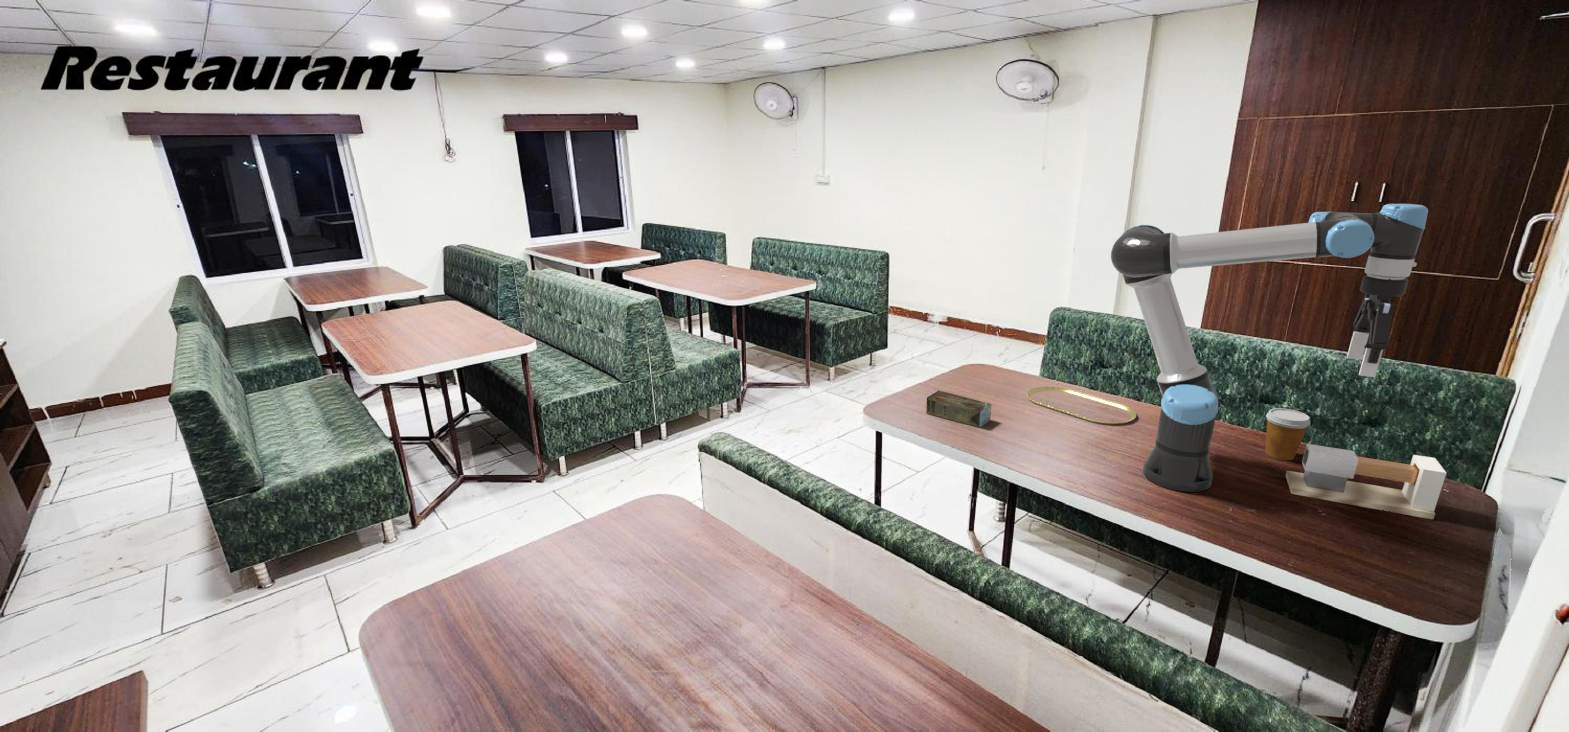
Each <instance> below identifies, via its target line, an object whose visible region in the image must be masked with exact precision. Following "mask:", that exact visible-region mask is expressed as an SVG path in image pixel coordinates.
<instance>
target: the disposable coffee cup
mask: <svg viewBox="0 0 1569 732" xmlns="http://www.w3.org/2000/svg"><path fill="white" fill-rule="evenodd" d="M1265 418H1266V422H1267V423H1266V435H1265V436H1266V437H1265V451H1264V452H1265V454H1266V455H1267V456H1268V457H1270V458H1273V459H1275V460H1280V461H1292V460H1294V459H1295V457H1296V455H1297V452H1298V451H1299V448H1300V445H1301V443H1302V440H1303V437H1304V435H1305V434H1306V431H1307V429H1308V427H1310V425H1311V420H1310V416H1309V415H1307V414H1306V413H1304V412H1302V411H1298V410H1295V409H1290V408H1282V407H1280V408H1277V407H1276V408H1271V409H1269V410H1268V412H1267V413H1266V415H1265Z"/></svg>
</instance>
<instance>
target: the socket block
mask: <svg viewBox="0 0 1569 732" xmlns="http://www.w3.org/2000/svg"><path fill="white" fill-rule="evenodd" d="M1409 465H1416V466H1417V467H1418V468H1419V470H1420V471H1419V475H1418V478H1417V481H1416V484H1413V483H1407V482H1404V484H1403V487H1402V489H1401V490H1402V493H1403V494H1404V496H1405V497H1406V499H1407V501H1408V502H1409V504H1410V506H1411V507H1412V508H1416V509H1422V510H1427V511H1433V512H1434V513H1435V509H1436V507H1437V503H1438V500H1439V498H1440V494H1441V491H1442V489H1443V486H1444V482H1445V479H1446V477H1447V472H1446V470H1445V469H1444V468H1443V466H1442V465H1441V464H1440V462H1439V461H1438V460H1437V458H1436V457H1431V456H1424V455H1417V454H1413V455H1412V458H1411V460H1410V464H1409Z"/></svg>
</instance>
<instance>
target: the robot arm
mask: <svg viewBox="0 0 1569 732" xmlns="http://www.w3.org/2000/svg"><path fill="white" fill-rule="evenodd" d="M1428 213H1429V209H1428V208H1427V207H1426V206H1425V205H1422V204H1413V203H1412V204H1411V203H1387V204H1385V205H1383V206H1382V208H1381V210H1380V211H1379V212H1375V213H1374V212H1373V213H1367V212H1364V213H1363V212H1345V211H1343V212H1340V211H1339V212H1337V211H1332V210H1331V211H1316V212H1313V213H1312V214H1311V215H1310V217H1309V219H1308V222H1304V223H1293V224H1285V225H1284V224H1283V225H1275V226H1266V227H1256V228H1255V227H1254V228H1246V229H1245V228H1244V229H1237V230H1227V231H1219V232H1218V231H1217V232H1216V231H1215V232H1208V233H1199V234H1198V233H1197V234H1190V235H1181V236H1178V235H1176V234H1175V233H1174V232H1166V233H1165V232H1164V231H1163V230H1162V229H1160V228H1159V227H1157V226H1154V225H1149V224H1141V225H1140V224H1139V225H1137V226H1133V227H1131V228H1129V229H1127V230H1125V231H1124V232H1123V233H1122V234H1121V235H1120V237H1118V238H1117V240H1116V241H1115V242H1114V243H1113V245H1112V249H1111V253H1110V259H1111V263H1112V265H1113V267H1114V269H1116V271H1117V272H1119V273H1120V274H1121V275H1122V277H1123V280H1124V283H1125V285H1127V286H1128V287H1131V288H1133V289H1134V292H1135V295H1136V299H1137V301H1138V305H1139V307H1140V311H1141V313H1142V317H1143V320H1144V323H1145V326H1146V327H1145V328H1146V330H1147V333H1148V336H1149V339H1150V342H1151V345H1152V348H1153V351H1154V355H1155V358H1156V360H1157V364H1158V367H1159V370H1160V373H1159V374H1158V376H1157V377H1156V382H1157V385H1158V387H1159V390H1160V394H1161V402H1160V406H1161V408H1160V413H1159V419H1158V420H1159V421H1158V425H1157V431H1156V439H1155V444H1154V446H1153V448H1152V449H1151V451H1150V453H1149V455H1148V456H1147V458H1146V459H1145V460H1144V464H1143V467H1142V468H1143V469H1142V473H1143V475H1144V477H1145V478H1146V479H1147V480H1149V481H1150V482H1152V483H1153V484H1156V485H1158V486H1159V487H1163V488H1166V489H1169V490H1173V491H1178V492H1188V493H1194V492H1195V493H1197V492H1204V491H1206V490H1208V489H1209V488H1211V486H1212V483H1213V482H1212V481H1213V476H1214V475H1213V470H1212V466H1211V462H1210V457H1209V453H1210V449H1211V444H1212V438H1213V434H1214V433H1213V432H1214V428H1215V423H1216V419H1217V418H1216V417H1217V415H1218V412H1219V399H1218V392H1217V388H1216V387H1215V386H1214V384H1213V383H1212V381H1211V378H1210V376H1209V373H1208V369H1207V368H1206V367H1207V366H1204V365H1201V364H1200V363H1198V361H1197V360H1198V359H1197V357H1196V354H1195V351H1194V348H1193V344H1192V341H1191V338H1190V335H1189V332H1188V329H1187V325H1186V323H1185V319H1184V316H1183V313H1182V311H1181V307H1180V303H1179V300H1178V298H1177V295H1176V291H1175V287H1174V285H1173V281H1172V275H1173V274H1175V273H1176V272H1177V271H1178V270H1180V269H1191V268H1204V267H1213V266H1214V267H1215V266H1227V265H1237V264H1238V265H1240V264H1249V263H1252V264H1253V263H1261V262H1263V263H1264V262H1275V261H1284V260H1286V261H1287V260H1299V259H1310V258H1311V259H1312V258H1327V257H1336V258H1342V259H1343V258H1346V259H1351V258H1356V257H1359V256H1361V255H1363V254H1365V253H1366V252H1367V251H1369V250H1370V252H1369V254H1368V257H1367V261H1366V264H1365V268H1364V273H1365V275H1363V276H1362V280H1361V284H1360V287H1359V291H1360V292H1361V293H1363V294H1364V298H1363V301H1362V303H1361V304H1360V307H1359V309H1358V312H1357V314H1356V316H1355V319H1354V321H1353V323H1352V325H1353V332H1352V336H1351V339H1350V344H1349V348H1348V351H1347V355H1346V359H1352V360H1361V361H1362V362H1361V364H1360V368H1359V373H1358V376H1361V377H1370V378H1376V376H1377V373H1378V369H1379V365H1380V363H1381V359H1382V356H1383V353H1384V350H1387V349H1388V348H1389V341H1390V335H1391V328H1392V321H1393V316H1394V311H1395V309H1396V304H1394V303H1391V301H1392V300H1391V299H1392V298H1393V297H1394V298H1395V297H1396V298H1398V297H1399V298H1400V297H1403V296H1404V295H1405V294H1406V290H1407V288H1408V283H1409V279H1408V277H1410V276H1411V272H1412V270H1413V268H1414V267H1417V264H1418V263H1417V262H1415V260H1416V256H1417V253H1418V250H1419V246H1420V243H1421V241H1422V239H1423V238H1422V237H1423V234H1424V230H1425V229H1426V223H1427V220H1428V219H1427V218H1428Z"/></svg>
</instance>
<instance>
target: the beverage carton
mask: <svg viewBox="0 0 1569 732" xmlns="http://www.w3.org/2000/svg"><path fill="white" fill-rule="evenodd" d="M992 407H993V406H992V404H991V403H989V402H985V401H981V400H978V399H974V398H969V397H967V396H964V395H963V396H962V395H958V394H954V393H951V392H947V391H942V390H937V391H935V392H934V393H932V394H931V395H929V396H927V397H926V414H928V415H932V416H934V417H935V416H936V417H938V418H942V419H946V420H950V421H953V422H957V423H960V424H963V425H964V424H965V425H967V426H972V427H976V428H981V427H983V426H984V425H986V424H987V423H989V422H990V421H991V415H992Z"/></svg>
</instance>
